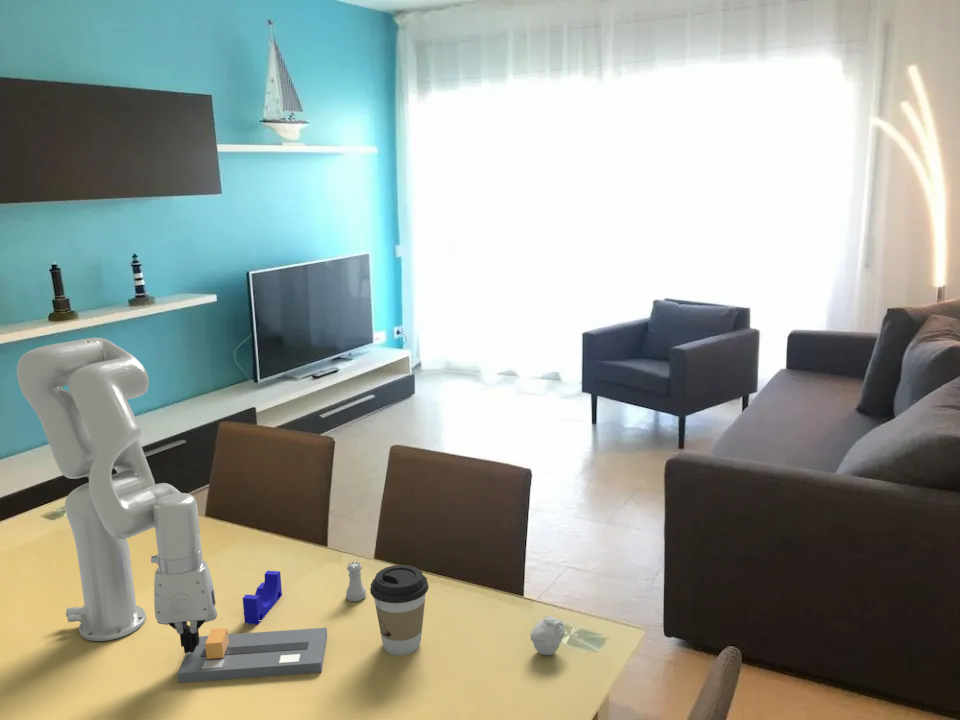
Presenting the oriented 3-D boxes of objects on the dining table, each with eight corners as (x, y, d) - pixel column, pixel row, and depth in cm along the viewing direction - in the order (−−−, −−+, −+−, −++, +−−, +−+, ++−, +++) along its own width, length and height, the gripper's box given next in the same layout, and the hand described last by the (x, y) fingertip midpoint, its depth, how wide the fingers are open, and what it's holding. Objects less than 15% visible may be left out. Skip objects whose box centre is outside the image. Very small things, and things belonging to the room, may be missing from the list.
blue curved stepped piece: (263, 594, 176) (261, 570, 174) (282, 596, 175) (280, 571, 174) (238, 623, 164) (235, 597, 163) (258, 625, 163) (256, 599, 162)
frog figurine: (571, 654, 151) (571, 621, 150) (542, 666, 147) (542, 632, 146) (552, 639, 156) (552, 607, 155) (523, 650, 152) (523, 618, 151)
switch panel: (178, 682, 144) (177, 672, 144) (194, 645, 156) (193, 636, 156) (321, 672, 147) (320, 662, 146) (327, 636, 158) (326, 627, 158)
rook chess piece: (357, 604, 170) (355, 570, 169) (341, 599, 173) (339, 565, 171) (370, 595, 174) (368, 562, 172) (355, 590, 176) (353, 557, 175)
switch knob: (206, 658, 148) (205, 643, 147) (213, 643, 152) (211, 629, 152) (223, 657, 148) (221, 642, 147) (228, 642, 153) (227, 627, 152)
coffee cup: (362, 642, 156) (358, 573, 153) (410, 623, 163) (408, 556, 159) (392, 669, 147) (388, 597, 144) (442, 647, 154) (439, 577, 151)
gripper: (132, 572, 141) (144, 663, 145) (217, 567, 143) (226, 657, 146) (145, 553, 148) (156, 640, 152) (226, 548, 150) (235, 635, 154)
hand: (190, 648), depth 149 cm, fingers closed
